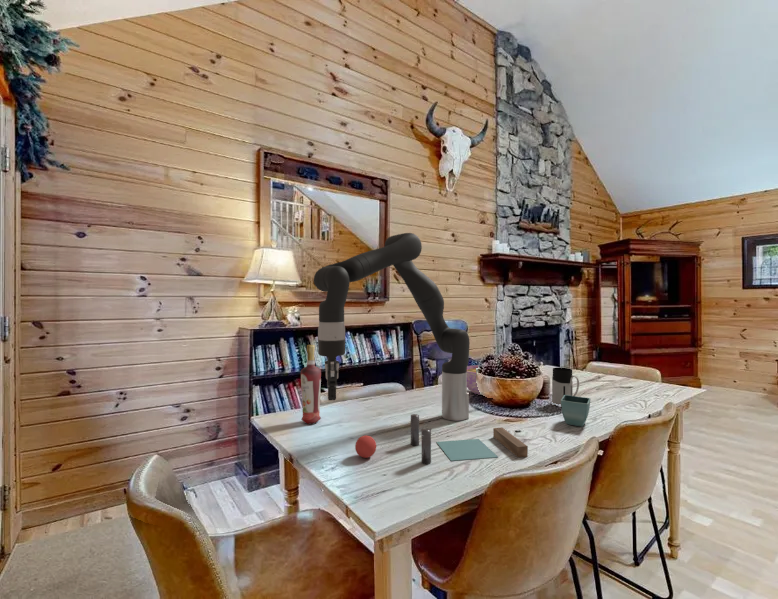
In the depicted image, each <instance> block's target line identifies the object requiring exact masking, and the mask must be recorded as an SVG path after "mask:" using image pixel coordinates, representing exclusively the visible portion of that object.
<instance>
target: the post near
mask: <svg viewBox="0 0 778 599" xmlns="http://www.w3.org/2000/svg"><path fill="white" fill-rule="evenodd" d="M431 463H432V429H431V428H422V429H421V464H422V465H431Z"/></svg>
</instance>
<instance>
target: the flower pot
mask: <svg viewBox="0 0 778 599" xmlns="http://www.w3.org/2000/svg"><path fill="white" fill-rule="evenodd" d="M561 407H562V408H561ZM561 407H560V408H561V414H562V418H563V420H564V422H565V423H566V424H567V425H571V426H575V427H584V425H585V424H586V421H587V418H588V416H589V412H590V408H591V398H590V397H583V396H577V395H576V396H570V395H564V396H563V398H562V399H561Z"/></svg>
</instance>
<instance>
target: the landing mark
mask: <svg viewBox="0 0 778 599" xmlns="http://www.w3.org/2000/svg"><path fill="white" fill-rule="evenodd" d="M436 444H437V445H438V447H439V448H440V449H441V450H442V452H443V451H444V452H443V453H444V454H445V455H446V457H447V458H448V459H449V460H450V462H456V461H457V462H459V461H469V460H471V461H472V460H481V459H483V460H484V459H493V458H496V459H497V458H499V456H498V455H497V454H496V453H495V452H494V451H493V450H492V449H490V448H489V447H488V446H487V445H486V444H485V443H484V442H483V441H482V440H480V439H479V438H472V439H457V440H443V441H442V440H441V441H436Z"/></svg>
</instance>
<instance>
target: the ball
mask: <svg viewBox="0 0 778 599" xmlns="http://www.w3.org/2000/svg"><path fill="white" fill-rule="evenodd" d="M354 446H355V448H354V449H355V452H356V453H357V455H358V456H359V457H361V458H362V459H363V458H364V459H368V458H371V457H372V456H373V455H374V454H375V453H376V450H377V442H376V440H375V439H374V438H373V437H372V436H371V435H361V436H360V437H359V438H358V439H357V440H356V442H355V445H354Z"/></svg>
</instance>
